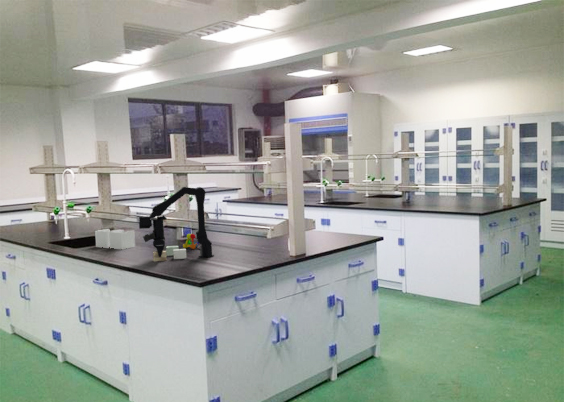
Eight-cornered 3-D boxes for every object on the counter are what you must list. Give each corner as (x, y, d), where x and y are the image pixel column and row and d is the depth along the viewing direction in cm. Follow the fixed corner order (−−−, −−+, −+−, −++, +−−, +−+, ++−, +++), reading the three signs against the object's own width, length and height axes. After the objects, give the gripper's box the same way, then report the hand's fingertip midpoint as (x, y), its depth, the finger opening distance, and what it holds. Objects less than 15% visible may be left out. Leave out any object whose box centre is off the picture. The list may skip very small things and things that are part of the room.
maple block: (166, 259, 280) (166, 250, 279) (166, 260, 276) (166, 251, 275) (153, 260, 278) (153, 251, 278) (153, 261, 274) (153, 252, 274)
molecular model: (197, 252, 320) (206, 240, 310) (185, 257, 313) (194, 245, 303) (188, 238, 322) (196, 226, 312) (176, 243, 315) (184, 231, 305)
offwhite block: (186, 257, 284) (185, 248, 284) (186, 258, 280) (186, 249, 280) (173, 258, 282) (173, 249, 282) (173, 259, 279) (173, 250, 278)
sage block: (178, 253, 295) (178, 245, 294) (178, 255, 291) (178, 246, 290) (166, 254, 293) (166, 246, 293) (166, 256, 289) (166, 247, 289)
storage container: (96, 247, 328) (95, 230, 327) (109, 244, 337) (108, 228, 336) (122, 249, 315) (120, 232, 314) (135, 246, 324) (134, 230, 323)
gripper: (144, 226, 283) (145, 253, 284) (142, 231, 264) (144, 259, 266) (164, 225, 285) (165, 252, 286) (164, 229, 267) (165, 258, 268)
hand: (160, 255), depth 277 cm, fingers open, 9 cm apart
